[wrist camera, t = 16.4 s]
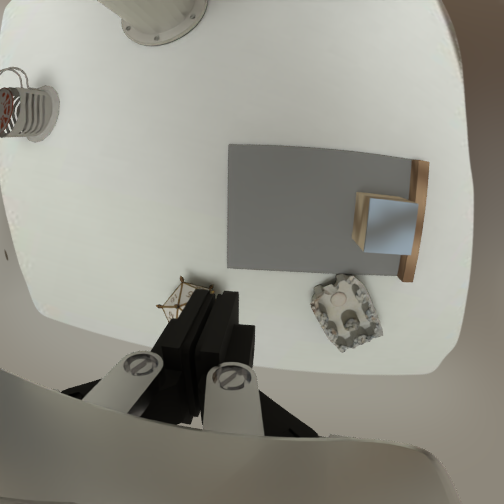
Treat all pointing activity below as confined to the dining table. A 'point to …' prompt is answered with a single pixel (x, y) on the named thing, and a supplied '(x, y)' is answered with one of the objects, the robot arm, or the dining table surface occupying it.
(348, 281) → the carved stone fragment
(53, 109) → the french press
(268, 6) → the dining table surface
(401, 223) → the block
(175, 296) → the game die
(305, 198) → the grey rectangular board
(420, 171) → the rail
